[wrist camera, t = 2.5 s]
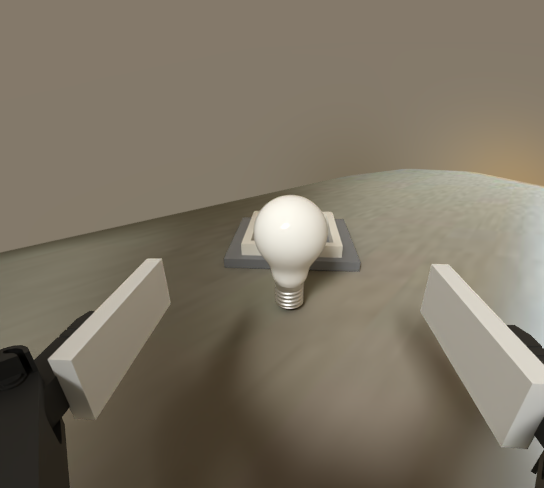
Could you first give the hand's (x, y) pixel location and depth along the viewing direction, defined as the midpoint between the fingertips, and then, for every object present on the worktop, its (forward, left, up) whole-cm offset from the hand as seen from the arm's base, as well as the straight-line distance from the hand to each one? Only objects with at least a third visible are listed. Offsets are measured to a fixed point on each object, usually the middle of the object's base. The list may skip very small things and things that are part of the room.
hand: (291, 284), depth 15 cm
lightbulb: (0, +11, -10) cm, 15 cm away
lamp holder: (0, +25, -10) cm, 27 cm away
